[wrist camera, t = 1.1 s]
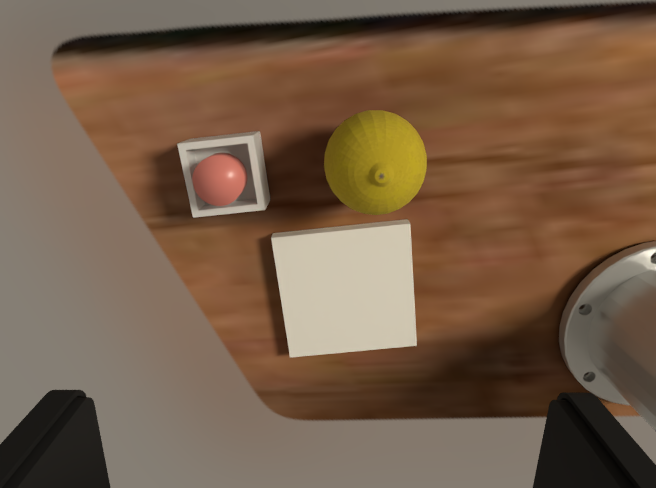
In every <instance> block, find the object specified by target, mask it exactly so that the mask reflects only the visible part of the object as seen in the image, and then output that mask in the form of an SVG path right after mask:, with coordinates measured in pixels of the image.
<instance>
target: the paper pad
mask: <svg viewBox="0 0 656 488" xmlns="http://www.w3.org/2000/svg"><path fill="white" fill-rule="evenodd" d="M271 240H272V246H273V253H274V259H275V265H276V272H277V278H278V284H279V291H280V297H281V303H282V310H283V316H284V322H285V329H286V335H287V341H288V347H289V354H290V357H300V356H311V355H321V354H332V353H343V352H354V351H364V350H375V349H386V348H397V347H407V346H417V341H416V322H415V303H414V285H413V266H412V248H411V229H410V222H409V221H408V219H405V220H396V221H386V222H377V223H367V224H357V225H348V226H338V227H329V228H319V229H309V230H300V231H290V232H281V233H273V235H272V237H271Z"/></svg>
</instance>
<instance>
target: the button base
mask: <svg viewBox="0 0 656 488" xmlns="http://www.w3.org/2000/svg"><path fill="white" fill-rule="evenodd" d="M177 145H178V150H179V154H180V159H181V164H182V168H183V173H184V178H185V182H186V187H187V192H188V197H189V201H190V206H191V211H192V215H193V218H194V217H204V216H213V215H223V214H232V213H241V212H251V211H260V210H265V209H266V207H267V206H268V204H269V202H270V193H269V187H268V180H267V174H266V167H265V161H264V154H263V148H262V141H261V135H260V131H256V132H247V133H238V134H229V135H221V136H212V137H203V138H194V139H189V140H186V141H183V142H181V143H178V144H177ZM216 153H229V154H231V155H234V156H235V157H237V158H238V159H239V160H240V161H241V162H242V163H243V165H244V166H245V169H246V172H247V184H246V187H245V189H244V190H243V192H242V193H241V194H240V195H239V196H238V198H237V199H236V200H235V201H233V202H232V203H230V204H228V205H224V206H215V205H211V204H208V203H206V202H205V201H203V200H202V199H201V198H200V197H199V196H198V195H197V193H196V191H195V189H194V186H193V181H192V178H193V172H194V170H195V168H196V166H197V165H198V164H199V163H200V162H201V161H202V160H204V159H206V158H207V157H209V156H211V155H213V154H216Z"/></svg>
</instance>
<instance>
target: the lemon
mask: <svg viewBox="0 0 656 488" xmlns="http://www.w3.org/2000/svg"><path fill="white" fill-rule="evenodd" d="M426 165H427V156H426V152H425V148H424V144H423V141H422V140H421V138H420V136H419V134H418V132H417V131H416V130H415V129H414V128H413V126H412V125H411V124H410V123H409V122H408V121H407V120H405V119H403V118H401V117H400V116H398V115H396V114H394V113H390V112H386V111H382V110H369V111H365V112H361V113H357V114H355V115H353V116H352V117H350V118H348V119H346V120H345V121H344V122H343V123H342V124H341V125H340V126H338V127H337V128H336V129H335V131H334V133H333V134H332V136H331V137H330V139H329V141H328V144H327V148H326V151H325V158H324V169H325V174H326V179H327V181H328V183H329V185H330V188H331V190H332V191H333V193H334V194H335V195H336V196H337V197H338V199H339V200H340V201H341V202H342V203H344V204H345V205H347V206H348V207H349V208H351V209H353V210H356V211H358V212H361V213H364V214H372V215H379V214H388V213H390V212H393V211H395V210H398V209H400V208H401V207H403V206H404V205H406V204H407V203H409V202H410V201H411V199H412V198H413V197H414V196H415V195H416V194H417V193H418V191H419V189H420V187H421V185H422V183H423V181H424V177H425V173H426Z"/></svg>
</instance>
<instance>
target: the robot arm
mask: <svg viewBox="0 0 656 488" xmlns="http://www.w3.org/2000/svg"><path fill="white" fill-rule="evenodd" d="M559 345H560V350H561V355H562V357H563V359H564V362H565V364H566V366H567V368H568V369H569V370H570V372H571V373H572V374H573V376H574V377H575V378H576V379H577V381H578V382H579V383H580V384H581V385H582V386H583V387H584V388H586V389H587V390H588V391H590V392H591V393H560V395H559V396H558V398H557V400H552V401H551V402H550V405H549V409H548V414H547V419H546V424H545V430H544V434H543V439H542V445H541V449H540V454H539V460H538V464H537V470H536V475H535V479H534V485H533V488H656V465H655V464H654V463H653V461H652V460H651V459H650V458H649V457H648V456H647V455H646V453H645V452H644V451H643V450H642V449H641V448H640V446H639V445H638V444H637V443H636V442H635V441H634V440H633V438H632V437H631V436H630V435H629V434H628V433H627V432H626V430H625V429H624V428H623V427H622V426H621V425H620V423H619V422H618V421H617V420H616V419H615V418H614V416H613V415H612V414H611V413H610V412H609V411H608V409H607V408H606V407H605V406H604V405H603V404H602V403H601V401H600V400H599V399H598V398H597V397H596V396H598V397H599V398H602V399H605V400H608V401H610V402H613V403H619V404H624V405H631V406H632V407H633V408H634V409H635V410H636V411H637V412H638V413H639V414H640V415H641V417H642V418H643V419H644V420H645V421H646V422H647V423H648V424H649V425H650V426H651V427H652V428H653V429H654V430H655V431H656V241H653V242H647V243H642V244H639V245H636V246H633V247H630V248H627V249H625V250H623V251H621V252H619V253H617V254H615V255H613V256H612V257H610V258H608V259H607V260H605V261H604V262H602V263H601V264H600V265H598V266H597V267H596V268H594V269H593V270H592V271H591V272H590V273H589V274H588V275H587V276H586V277H585V278H584V279H583V280H582V281H581V282H580V284H579V285H578V286H577V288H576V289H575V291H574V292H573V294H572V295H571V296H570V298H569V300H568V302H567V305H566V307H565V309H564V311H563V314H562V318H561V322H560V327H559ZM592 393H593V394H592ZM595 395H596V396H595ZM0 488H110V483H109V478H108V473H107V468H106V462H105V458H104V452H103V447H102V441H101V436H100V431H99V426H98V421H97V415H96V410H95V405H94V401H93V400H92V398H87V397H86V394H85V393H84V392H83V391H81V390H52V391H50V392H48V393H47V394H46V395H45V396H44V397H43V398H42V399H41V400H40V401H39V403H38V404H37V405H36V406H35V407H34V408H33V409H32V410H31V411H30V412H29V414H28V415H27V416H26V417H25V418H24V419H23V420H22V421H21V422H20V423H19V425H18V426H17V427H16V428H15V429H14V430H13V431H12V432H11V433H10V434H9V436H8V437H7V438H6V439H5V440H4V441H3V442H2V443H1V444H0Z"/></svg>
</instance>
